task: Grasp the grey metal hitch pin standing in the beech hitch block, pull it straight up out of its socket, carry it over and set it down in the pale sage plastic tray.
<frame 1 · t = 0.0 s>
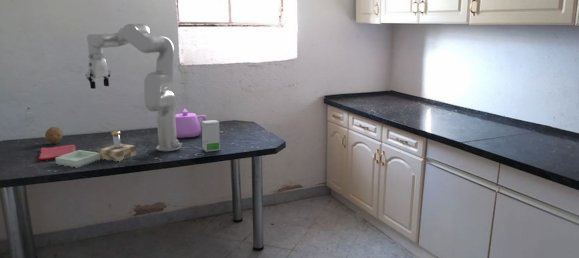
hand: (100, 87, 246), 31 cm above the table, fingers open, 9 cm apart
teapot: (186, 135, 263), on the table
natural sponge: (55, 144, 247), on the table
hitch block: (118, 156, 222), on the table
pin: (117, 144, 220), in the hitch block
tray: (78, 162, 214), on the table
dish towel: (57, 155, 228), on the table
skincare box: (211, 149, 234), on the table
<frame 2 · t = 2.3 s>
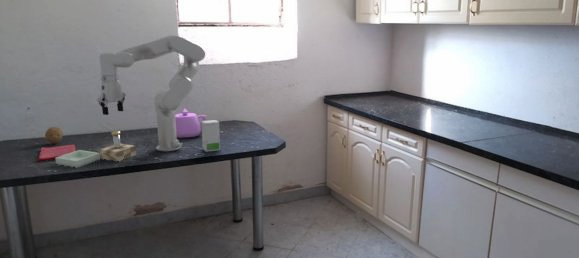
hand: (113, 112, 216), 23 cm above the table, fingers open, 9 cm apart
nothing on the table moved.
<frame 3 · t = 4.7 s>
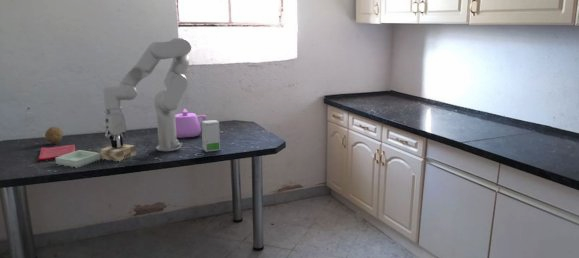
hand: (117, 146, 221), 6 cm above the table, fingers closed on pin, 3 cm apart
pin: (117, 144, 220), in the hitch block, touching gripper
everything else where it was.
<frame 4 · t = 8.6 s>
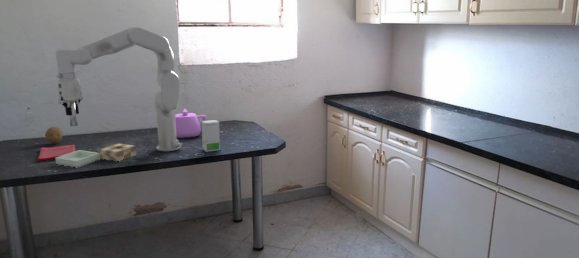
hand: (72, 114, 208), 24 cm above the table, fingers closed on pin, 3 cm apart
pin: (72, 112, 208), point 25 cm above the table, touching gripper
everything else where it was.
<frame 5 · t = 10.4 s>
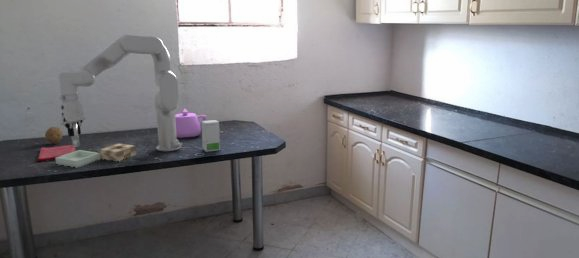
hand: (74, 134, 211), 14 cm above the table, fingers closed on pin, 3 cm apart
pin: (74, 132, 211), point 15 cm above the table, touching gripper
everything else where it was.
when the fingers open (8 cm above the table, at t = 12.2 s): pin drops 1 cm, resting on tray.
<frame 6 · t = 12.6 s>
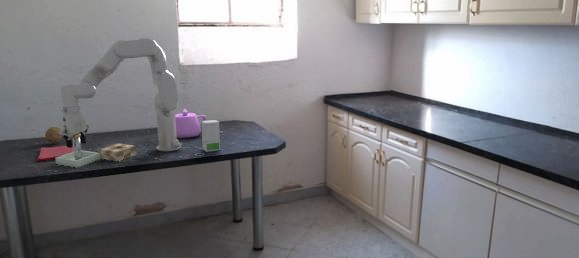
hand: (76, 145, 212), 9 cm above the table, fingers open, 7 cm apart
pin: (77, 147, 213), in the tray, point 8 cm above the table
everything else where it was.
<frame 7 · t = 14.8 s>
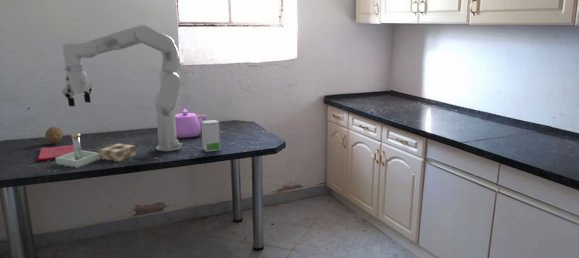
hand: (80, 104, 213), 28 cm above the table, fingers open, 9 cm apart
nothing on the table moved.
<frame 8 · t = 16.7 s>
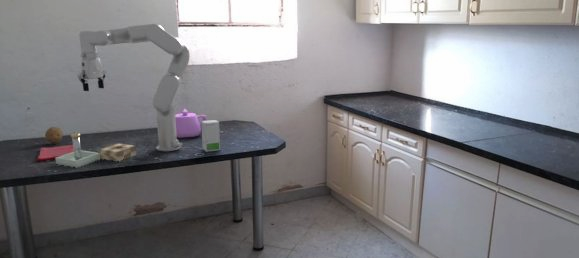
hand: (93, 89, 224), 33 cm above the table, fingers open, 9 cm apart
nothing on the table moved.
at the end: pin inside the target area on the tray (0.1 cm from its centre), point 7.6 cm above the tray's base; the gripper is holding nothing; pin touching tray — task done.
